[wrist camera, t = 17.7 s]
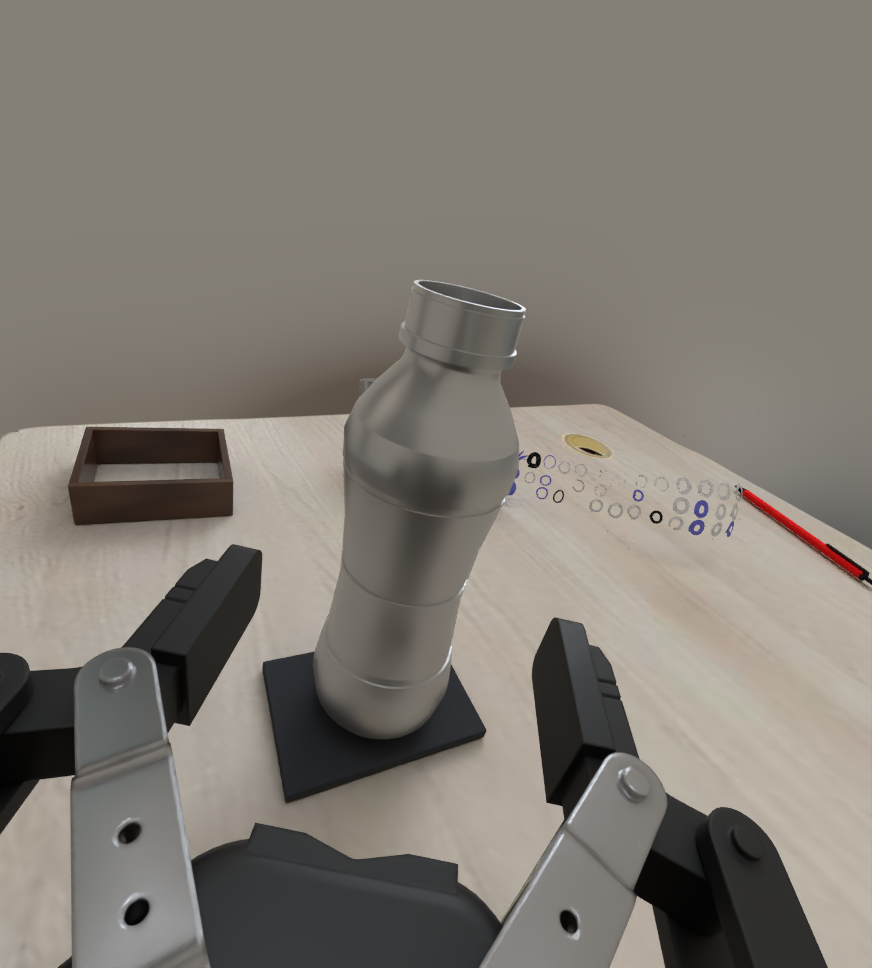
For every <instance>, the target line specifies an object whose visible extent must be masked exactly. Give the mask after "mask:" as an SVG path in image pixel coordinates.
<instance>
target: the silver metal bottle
mask: <svg viewBox="0 0 872 968" xmlns="http://www.w3.org/2000/svg"><path fill="white" fill-rule="evenodd" d="M525 311H526V309H525V308H524V307H523V306H521V305H519V304H517V303H514V302H512V301H510V300H507V299H504V298H501V297H498V296H495V295H492V294H489V293H485V292H482V291H478V290H475V289H470V288H467V287H462V286H458V285H453V284H448V283H443V282H437V281H428V280H417V281H414V286H413V287H412V289H411V294H410V299H409V305H408V309H407V315H406V319H405V322H403V323H402V324H401V329H400V334H399V340H400V341H401V342H402V343H403V344H404V345H406V350H405V352H404V355H403V357H402V358H401V359H399V361H397V362H396V363H395V364H394V365H392V366H391V367H390V368H389V369H388V370H387V371H385V372H384V373H383V374H382V375H381V376H380V377H379V378H377V379H376V380H375V381H374V382H373V383H372V385H371V386H370V387H369V388H368V389H367V390H366V391H365V392H364V393H363V394H362V395H361V396H360V397H359V399H358V400H357V401H356V403H355V405H354V407H353V409H352V411H351V413H350V415H349V417H348V419H347V422H346V424H345V426H344V445H343V456H344V461H343V468H344V503H345V522H344V534H343V550H342V558H341V570H340V573H339V577H338V581H337V585H336V589H335V593H334V597H333V601H332V605H331V609H330V613H329V615H328V617H327V619H326V621H325V623H324V625H323V628H322V631H321V634H320V637H319V640H318V643H317V646H316V649H315V652H314V659H313V669H314V677H315V685H316V692H317V696H318V698H319V701H320V703H321V705H322V707H323V708H324V710H325V711H326V713H327V714H328V715H329V716H330V717H331V718H332V719H333V720H334V721H335V722H336V723H337V724H339V725H340V726H342V727H343V728H345V729H346V730H348V731H350V732H351V733H354V734H356V735H359V736H361V737H365V738H370V739H392V738H398V737H402V736H405V735H407V734H410V733H412V732H414V731H416V730H417V729H419V728H420V727H422V726H423V725H424V724H425V723H426V722H427V721H428V720H429V719H430V717H431V716H432V714H433V713H434V711H435V709H436V708H437V706H438V705H439V703H440V702H441V700H442V698H443V697H444V695H445V693H446V689H447V686H448V681H449V674H450V667H451V643H452V638H453V633H454V628H455V623H456V618H457V613H458V608H459V603H460V598H461V596H462V593H463V591H464V588H465V585H466V582H467V579H468V578H469V575H470V573H471V570H472V567H473V565H474V562H475V560H476V557H477V554H478V552H479V549H480V548H481V546H482V544H483V542H484V540H485V538H486V536H487V534H488V532H489V530H490V528H491V526H492V525H493V523H494V521H495V519H496V517H497V515H498V513H499V511H500V509H501V507H502V505H503V503H504V501H505V498H506V496H507V495H508V494H509V492H510V489H511V487H512V484H513V482H514V480H515V477H516V475H517V472H518V468H519V441H518V437H517V433H516V429H515V425H514V421H513V417H512V413H511V410H510V407H509V405H508V402H507V400H506V397H505V394H504V392H503V389H502V386H501V383H500V377H501V370H506V369H509V368H511V367H512V366H513V363H514V360H515V357H516V354H517V352H516V350H515V346H516V343H517V340H518V337H519V334H520V331H521V328H522V325H523V322H524V319H525V316H524V314H525Z"/></svg>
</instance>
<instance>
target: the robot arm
mask: <svg viewBox="0 0 872 968" xmlns="http://www.w3.org/2000/svg"><path fill="white" fill-rule="evenodd" d="M261 570H262V552H261V551H260V550H256V549H252V548H247V547H243V546H239V545H234V544H233V545H231V546H230V547H229V548H228V549H227V550H226V551H225V553H224V554H223V555H222V557H221V558H220V559H219V560H218V561H214V560H210V559H205V560H203V561H202V562H200V563H198V564H196V565H195V566H193V567H191V568H190V569H188V570H187V571H186V572H185V573H184V575H183V576H182V577H181V578H180V579H179V581H178V582H177V583H176V584H175V587H173V588H172V589H171V590H170V591H169V592H168V594H167V595H166V596H165V599H162V601H161V602H160V603H159V604H158V605H157V607H156V608H155V609H154V610H153V611H152V612H151V614H150V615H149V616H148V617H147V618H146V620H145V621H144V622H143V623H142V624H141V625H140V627H139V628H138V629H137V630H136V631H135V633H134V634H133V635H132V636H131V637H130V638H129V640H128V641H127V642H126V643H125V644H124V645H123V646H122V647H121V648H117V649H113V650H110V651H107V652H104V653H102V654H100V655H98V656H96V657H94V658H93V659H91V660H90V661H89V662H88V663H86V664H85V665H84V666H83V667H79V668H70V669H54V670H39V671H30V669H29V666H28V663H27V662H26V660H25V659H23V658H22V657H20V656H18V655H15V654H11V653H0V834H1V833H2V831H3V830H4V829H5V827H6V826H7V824H8V823H9V822H10V820H11V819H12V817H13V816H14V815H15V813H16V812H17V811H18V809H19V808H20V806H21V805H22V804H23V802H24V801H25V799H26V798H27V797H28V795H29V794H30V793H31V791H32V790H33V788H34V787H35V786H36V784H37V783H38V782H39V780H40V779H48V778H55V777H63V776H71V775H75V777H74V778H72V780H71V797H70V798H71V902H72V956H71V957H70V958H69V959H68V960H66V961H65V962H64V963H63V964H61V965H60V966H59V967H58V968H610V965H611V963H612V960H613V958H614V955H615V953H616V950H617V948H618V945H619V943H620V940H621V938H622V935H623V933H624V930H625V928H626V926H627V923H628V921H629V918H630V916H631V913H632V911H633V908H634V905H635V902H636V897H637V896H638V897H640V898H642V899H643V900H645V901H647V902H648V903H650V904H652V906H653V911H654V916H655V921H656V925H657V930H658V935H659V940H660V945H661V949H662V954H663V959H664V964H665V968H828V967H827V965H826V962H825V960H824V958H823V955H822V953H821V951H820V948H819V946H818V944H817V942H816V939H815V937H814V935H813V932H812V930H811V928H810V925H809V923H808V921H807V918H806V916H805V914H804V911H803V909H802V907H801V904H800V902H799V900H798V897H797V895H796V893H795V891H794V888H793V886H792V884H791V881H790V879H789V877H788V874H787V872H786V870H785V867H784V865H783V863H782V860H781V858H780V856H779V854H778V852H777V850H776V848H775V846H774V844H773V843H772V841H771V840H770V838H769V837H768V836H767V834H766V833H765V832H764V831H763V830H762V829H761V828H760V827H759V826H758V825H757V824H756V823H755V822H754V821H753V820H751V819H750V818H749V817H747V816H746V815H744V814H743V813H741V812H739V811H737V810H734V809H731V808H726V807H720V808H716V809H715V810H713V811H712V812H711V813H710V814H709V815H708V816H707V815H705V814H703V813H701V812H699V811H697V810H695V809H694V808H692V807H690V806H688V805H686V804H684V803H682V802H681V801H679V800H677V799H675V798H674V797H672V796H670V795H669V794H667V793H666V792H665V789H664V787H663V785H662V783H661V781H660V780H659V778H658V777H657V775H656V774H655V773H654V771H653V770H652V769H651V768H650V767H649V766H648V765H646V764H645V763H644V762H643V761H641V760H640V759H639V756H638V753H637V749H636V746H635V743H634V740H633V736H632V733H631V730H630V726H629V723H628V720H627V716H626V713H625V710H624V706H623V703H622V701H620V698H621V696H620V693H619V690H618V686H616V680H615V676H614V673H613V670H612V666H611V664H610V662H609V661H608V660H607V658H606V657H605V655H604V654H603V652H602V651H601V650H600V648H599V647H596V646H591V645H589V643H588V639H587V635H586V631H585V628H584V626H583V624H581V623H578V622H573V621H569V620H564V619H560V618H553V619H552V621H551V622H550V624H549V627H548V629H547V631H546V633H545V635H544V637H543V640H542V642H541V644H540V646H539V648H538V650H537V653H536V655H535V658H534V662H533V667H532V682H533V691H534V699H535V708H536V716H537V725H538V733H539V742H540V750H541V759H542V767H543V776H544V784H545V793H546V802H547V803H550V804H555V805H560V806H563V813H564V821H563V822H562V824H561V825H560V827H559V829H558V830H557V832H556V833H555V835H554V837H553V838H552V840H551V842H550V843H549V845H548V846H547V848H546V850H545V851H544V853H543V855H542V856H541V858H540V859H539V861H538V863H537V864H536V866H535V868H534V869H533V871H532V872H531V874H530V876H529V877H528V879H527V880H526V882H525V884H524V885H523V887H522V889H521V890H520V892H519V893H518V895H517V896H516V898H515V900H514V901H513V903H512V904H511V906H510V907H509V909H508V911H507V912H506V914H505V915H504V917H503V918H502V920H501V922H499V920H498V919H497V917H496V916H495V914H494V913H493V912H492V911H491V910H490V908H489V907H488V906H487V905H486V904H485V903H484V902H483V901H482V900H481V899H480V898H479V897H478V896H477V895H476V894H475V893H473V892H472V891H471V890H469V889H468V888H467V887H465V886H464V885H462V884H460V883H459V882H458V864H455V863H450V862H445V861H440V860H435V859H430V858H425V857H421V856H416V855H411V854H405V855H396V856H387V857H378V858H368V859H352V858H350V857H348V856H346V855H344V854H342V853H341V852H339V851H337V850H335V849H333V848H332V847H330V846H328V845H326V844H324V843H323V842H321V841H319V840H317V839H315V838H314V837H312V836H310V835H308V834H306V833H303V832H298V831H293V830H288V829H283V828H278V827H274V826H269V825H264V824H259V823H255V825H254V828H253V830H252V833H251V836H250V838H249V839H246V840H239V841H234V842H230V843H226V844H223V845H221V846H218V847H215V848H213V849H211V850H209V851H207V852H205V853H203V854H201V855H199V856H197V857H196V858H194V859H192V860H191V859H190V853H189V847H188V841H187V835H186V829H185V824H184V818H183V812H182V806H181V800H180V794H179V789H178V783H177V777H176V771H175V765H174V759H173V754H172V749H171V744H170V743H169V739H168V732H169V730H170V729H171V727H172V726H173V724H174V723H178V724H183V725H187V726H190V725H191V723H192V721H193V719H194V718H195V716H196V714H197V712H198V711H199V709H200V707H201V706H202V704H203V702H204V700H205V699H206V697H207V695H208V693H209V692H210V690H211V688H212V686H213V685H214V683H215V681H216V680H217V678H218V676H219V674H220V673H221V671H222V669H223V667H224V666H225V664H226V662H227V661H228V659H229V657H230V655H231V654H232V652H233V650H234V648H235V647H236V645H237V643H238V641H239V640H240V638H241V636H242V635H243V633H244V631H245V629H246V628H247V626H248V624H249V622H250V621H251V619H252V617H253V615H254V613H255V611H256V608H257V605H258V602H259V598H260V589H261Z"/></svg>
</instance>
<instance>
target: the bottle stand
mask: <svg viewBox="0 0 872 968" xmlns="http://www.w3.org/2000/svg"><path fill="white" fill-rule="evenodd" d="M187 462H218V468H219V474H220V479H184V480H148V481H112V482H94V478H95V473H96V469H97V465H98V464H110V463H187ZM68 490H69V495H70V501H71V506H72V512H73V518H74V523H75V525H79V524H95V523H112V522H128V521H144V520H161V519H177V518H194V517H210V516H227V515H233V478H232V472H231V467H230V461H229V456H228V451H227V445H226V440H225V434H224V429H189V428H128V427H86V429H85V432H84V435H83V439H82V442H81V445H80V449H79V452H78V455H77V459H76V462H75V465H74V468H73V472H72V475H71V478H70V482H69V485H68Z"/></svg>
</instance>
